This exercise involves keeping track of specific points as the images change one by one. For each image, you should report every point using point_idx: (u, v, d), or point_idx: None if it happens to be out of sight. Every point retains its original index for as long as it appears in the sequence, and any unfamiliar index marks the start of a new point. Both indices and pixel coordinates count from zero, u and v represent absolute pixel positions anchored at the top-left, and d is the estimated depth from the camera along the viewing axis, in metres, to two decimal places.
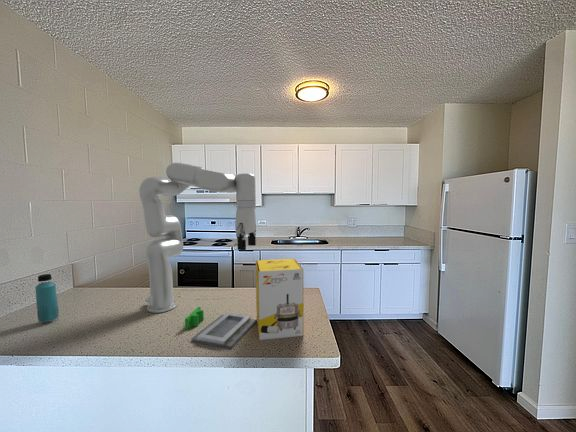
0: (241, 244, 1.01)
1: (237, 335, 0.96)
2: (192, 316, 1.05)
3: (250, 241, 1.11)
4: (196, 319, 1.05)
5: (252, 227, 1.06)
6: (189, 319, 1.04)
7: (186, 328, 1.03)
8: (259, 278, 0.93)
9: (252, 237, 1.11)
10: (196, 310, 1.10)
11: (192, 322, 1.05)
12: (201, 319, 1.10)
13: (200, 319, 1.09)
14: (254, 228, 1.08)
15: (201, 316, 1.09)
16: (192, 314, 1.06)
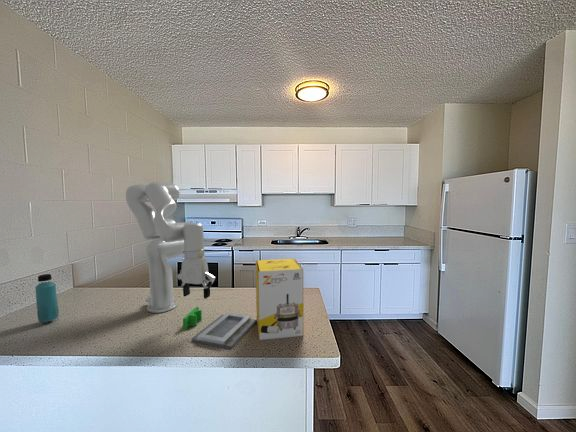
0: (209, 291, 1.05)
1: (237, 335, 0.96)
2: (190, 316, 1.05)
3: (186, 291, 1.08)
4: (195, 319, 1.05)
5: None
6: (187, 318, 1.04)
7: (184, 328, 1.03)
8: (259, 278, 0.93)
9: (188, 286, 1.08)
10: (194, 310, 1.10)
11: (190, 322, 1.05)
12: (199, 319, 1.10)
13: (198, 319, 1.10)
14: None
15: (199, 316, 1.10)
16: (190, 314, 1.06)
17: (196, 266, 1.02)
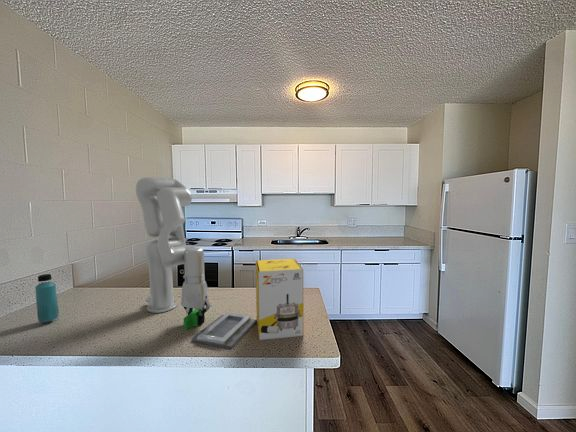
0: (203, 317, 1.07)
1: (237, 335, 0.96)
2: (191, 316, 1.05)
3: None
4: (195, 319, 1.05)
5: None
6: (188, 318, 1.04)
7: (185, 328, 1.03)
8: (259, 278, 0.93)
9: None
10: (196, 310, 1.10)
11: (191, 322, 1.05)
12: None
13: None
14: None
15: None
16: (191, 314, 1.06)
17: (196, 291, 1.04)
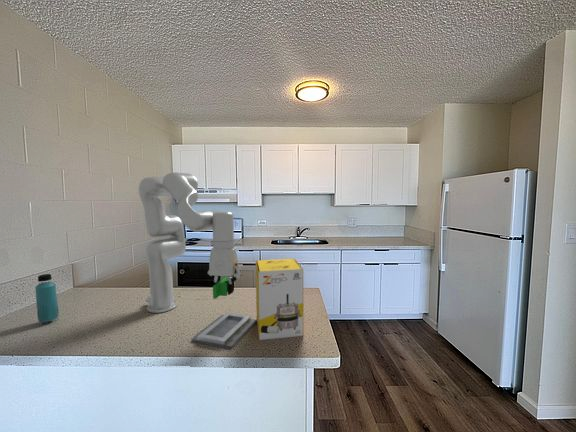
0: (233, 287, 0.99)
1: (237, 335, 0.96)
2: (220, 284, 0.97)
3: None
4: (225, 288, 0.97)
5: None
6: (217, 287, 0.96)
7: (214, 296, 0.95)
8: (259, 278, 0.93)
9: None
10: (224, 279, 1.02)
11: (220, 291, 0.97)
12: None
13: None
14: None
15: None
16: (220, 282, 0.98)
17: (226, 257, 0.96)
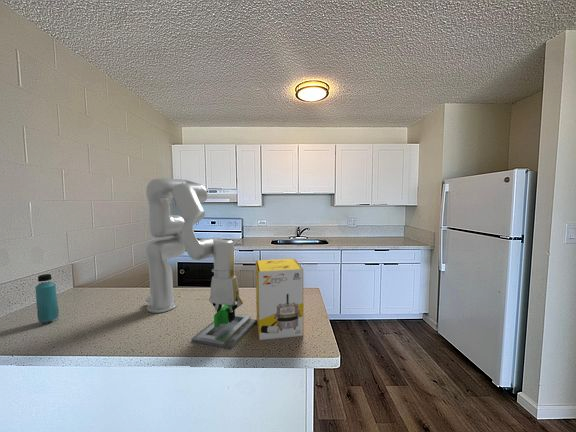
0: (234, 314, 1.00)
1: (237, 335, 0.96)
2: (221, 313, 0.98)
3: None
4: (226, 316, 0.98)
5: None
6: (219, 315, 0.97)
7: (215, 325, 0.95)
8: (259, 278, 0.93)
9: None
10: (225, 306, 1.02)
11: (221, 319, 0.98)
12: None
13: None
14: None
15: None
16: (221, 310, 0.99)
17: (227, 286, 0.97)
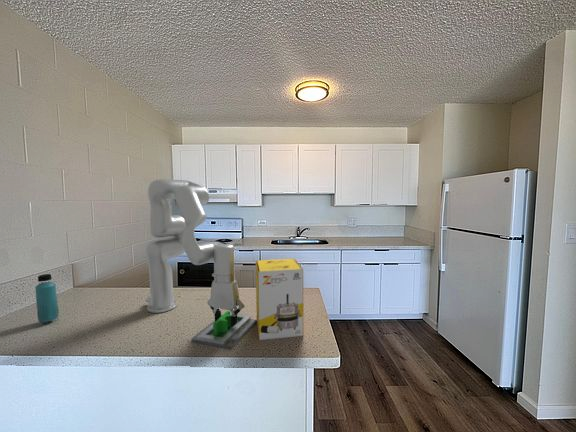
0: (236, 318, 1.00)
1: (237, 335, 0.96)
2: (221, 321, 0.98)
3: (218, 318, 1.02)
4: (225, 325, 0.98)
5: None
6: (218, 324, 0.97)
7: (214, 334, 0.96)
8: (259, 278, 0.93)
9: (219, 313, 1.02)
10: (225, 314, 1.03)
11: (221, 327, 0.99)
12: (230, 324, 1.02)
13: (229, 324, 1.02)
14: None
15: (230, 321, 1.02)
16: (221, 319, 0.99)
17: (227, 291, 0.97)
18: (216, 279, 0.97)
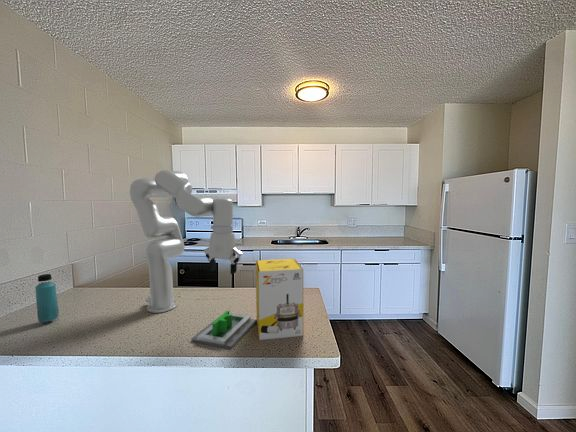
0: (236, 267, 1.05)
1: (237, 335, 0.96)
2: (220, 321, 0.98)
3: (212, 266, 1.08)
4: (224, 324, 0.98)
5: None
6: (217, 324, 0.97)
7: (213, 334, 0.96)
8: (259, 278, 0.93)
9: (214, 261, 1.09)
10: (224, 314, 1.03)
11: (220, 327, 0.99)
12: (229, 324, 1.02)
13: (228, 324, 1.02)
14: None
15: (229, 321, 1.02)
16: (220, 319, 0.99)
17: (225, 241, 1.02)
18: (214, 230, 1.02)
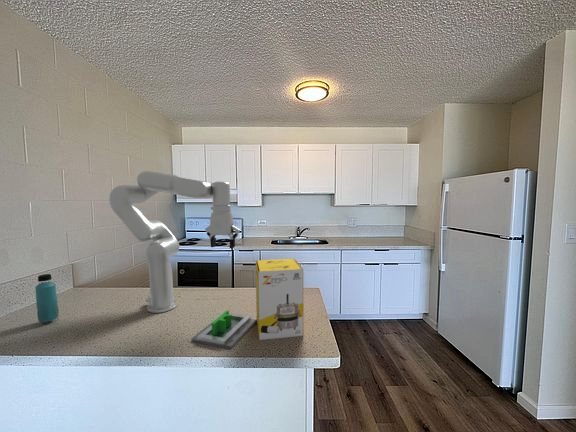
0: (234, 242, 1.18)
1: (237, 335, 0.96)
2: (219, 321, 0.99)
3: (213, 243, 1.21)
4: (224, 324, 0.98)
5: None
6: (216, 323, 0.97)
7: (213, 333, 0.96)
8: (259, 278, 0.93)
9: (214, 239, 1.22)
10: (224, 314, 1.03)
11: (219, 327, 0.99)
12: (229, 324, 1.03)
13: (228, 324, 1.03)
14: None
15: (229, 321, 1.02)
16: (219, 319, 0.99)
17: (224, 219, 1.16)
18: (214, 209, 1.16)
